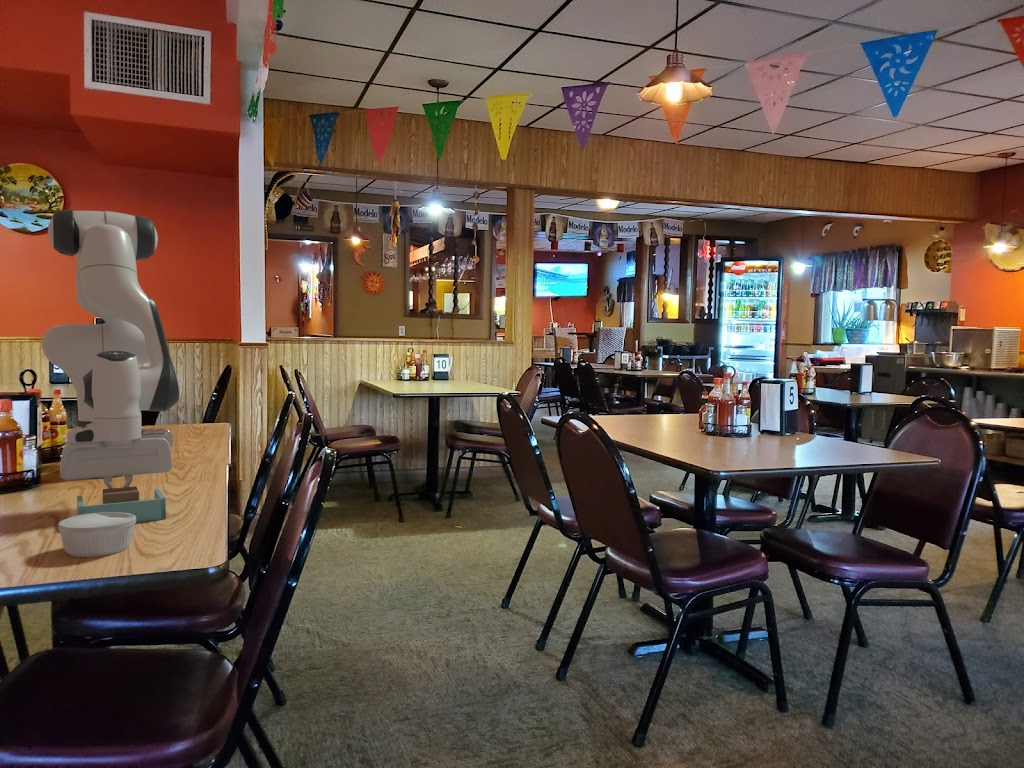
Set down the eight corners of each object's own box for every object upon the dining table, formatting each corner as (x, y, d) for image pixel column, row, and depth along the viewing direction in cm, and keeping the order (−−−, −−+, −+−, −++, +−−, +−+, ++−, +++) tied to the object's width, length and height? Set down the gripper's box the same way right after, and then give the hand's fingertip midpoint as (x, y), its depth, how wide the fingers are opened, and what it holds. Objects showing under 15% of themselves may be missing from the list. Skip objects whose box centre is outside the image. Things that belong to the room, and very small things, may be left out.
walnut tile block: (103, 513, 144) (102, 489, 143) (136, 510, 147) (136, 486, 147) (105, 519, 139) (104, 494, 138) (139, 516, 142) (139, 491, 142)
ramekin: (148, 541, 125) (148, 511, 125) (114, 560, 114) (114, 528, 113) (84, 540, 125) (83, 510, 124) (43, 560, 114) (43, 527, 113)
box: (77, 516, 141) (77, 496, 141) (158, 507, 149) (158, 489, 149) (79, 528, 132) (78, 507, 132) (165, 518, 140) (165, 498, 140)
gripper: (171, 426, 153) (171, 489, 154) (58, 431, 142) (60, 499, 143) (175, 429, 148) (176, 495, 149) (59, 435, 137) (60, 506, 138)
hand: (118, 497), depth 146 cm, fingers closed
